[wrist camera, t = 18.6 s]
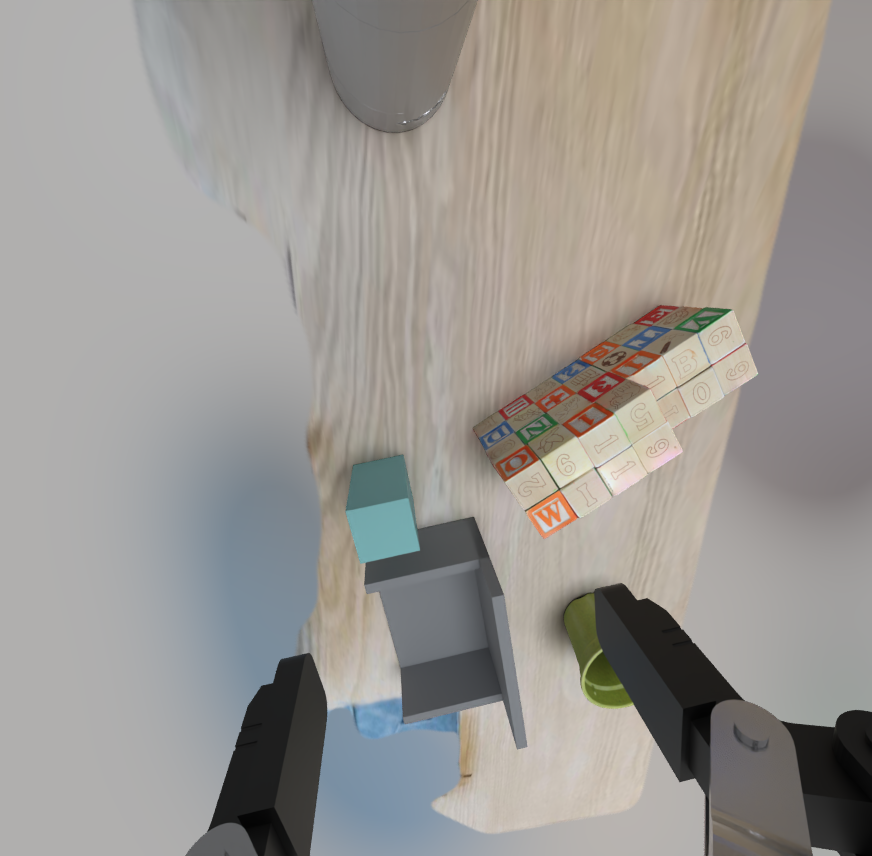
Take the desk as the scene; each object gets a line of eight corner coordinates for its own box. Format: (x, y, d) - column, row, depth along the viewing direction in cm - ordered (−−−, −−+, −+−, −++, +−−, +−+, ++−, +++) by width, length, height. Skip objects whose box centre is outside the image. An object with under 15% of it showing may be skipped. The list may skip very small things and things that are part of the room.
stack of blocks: (659, 302, 40) (770, 310, 29) (683, 356, 42) (796, 384, 31) (470, 428, 42) (503, 483, 31) (502, 474, 44) (544, 542, 33)
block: (365, 509, 44) (360, 563, 35) (353, 465, 42) (345, 511, 33) (413, 498, 44) (420, 550, 35) (403, 454, 42) (408, 497, 34)
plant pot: (569, 573, 49) (605, 630, 41) (637, 588, 51) (686, 646, 43) (537, 636, 52) (566, 702, 44) (604, 648, 54) (644, 714, 46)
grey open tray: (402, 667, 51) (407, 776, 40) (367, 540, 45) (361, 627, 33) (495, 644, 51) (527, 746, 40) (473, 516, 45) (503, 594, 34)
